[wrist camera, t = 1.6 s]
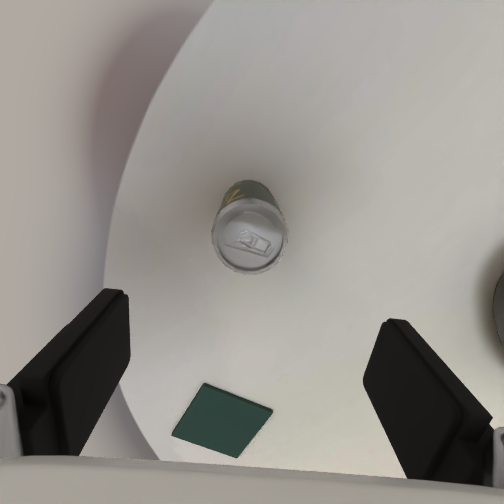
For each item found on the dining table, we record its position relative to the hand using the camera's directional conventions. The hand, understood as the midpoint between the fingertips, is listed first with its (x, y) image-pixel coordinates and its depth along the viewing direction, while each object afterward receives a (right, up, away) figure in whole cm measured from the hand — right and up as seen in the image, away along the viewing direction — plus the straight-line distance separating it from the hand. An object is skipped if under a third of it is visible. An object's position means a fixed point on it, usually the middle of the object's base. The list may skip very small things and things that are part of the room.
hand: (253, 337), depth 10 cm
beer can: (0, +8, +20) cm, 21 cm away
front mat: (-5, -22, +31) cm, 38 cm away
